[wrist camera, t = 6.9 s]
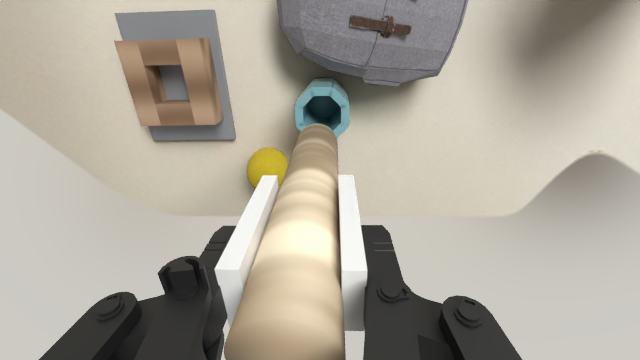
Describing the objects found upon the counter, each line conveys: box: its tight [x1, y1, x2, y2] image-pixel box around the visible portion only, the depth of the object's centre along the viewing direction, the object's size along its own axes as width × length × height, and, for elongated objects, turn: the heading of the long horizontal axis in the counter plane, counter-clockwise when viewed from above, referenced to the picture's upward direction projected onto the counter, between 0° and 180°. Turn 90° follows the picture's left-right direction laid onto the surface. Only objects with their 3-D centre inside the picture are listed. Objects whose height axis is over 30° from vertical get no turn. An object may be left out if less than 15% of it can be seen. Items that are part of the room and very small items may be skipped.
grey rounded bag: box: [277, 0, 468, 86], centre depth 30 cm, size 15×8×20 cm
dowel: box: [224, 124, 345, 360], centre depth 15 cm, size 3×3×17 cm
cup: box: [294, 78, 350, 138], centre depth 35 cm, size 6×6×8 cm
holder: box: [114, 38, 224, 126], centre depth 36 cm, size 10×10×3 cm
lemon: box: [247, 148, 288, 188], centre depth 39 cm, size 6×6×8 cm
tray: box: [115, 10, 236, 140], centre depth 37 cm, size 16×12×1 cm
